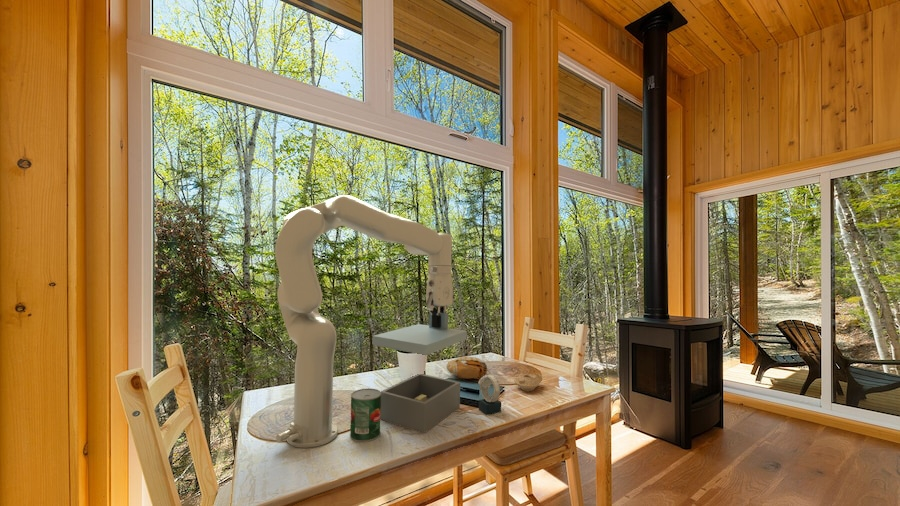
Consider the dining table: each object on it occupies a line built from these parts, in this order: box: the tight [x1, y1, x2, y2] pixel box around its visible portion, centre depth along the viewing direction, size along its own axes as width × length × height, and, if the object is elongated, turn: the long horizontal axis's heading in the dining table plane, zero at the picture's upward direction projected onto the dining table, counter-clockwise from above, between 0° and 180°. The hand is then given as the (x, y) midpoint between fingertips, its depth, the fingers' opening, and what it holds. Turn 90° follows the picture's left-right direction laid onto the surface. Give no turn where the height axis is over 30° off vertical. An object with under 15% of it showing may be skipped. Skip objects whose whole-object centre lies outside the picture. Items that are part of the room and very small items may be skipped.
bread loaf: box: [446, 356, 492, 381], centre depth 143 cm, size 8×22×15 cm
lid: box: [372, 311, 468, 356], centre depth 112 cm, size 23×19×8 cm
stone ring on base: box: [477, 374, 502, 416], centre depth 114 cm, size 6×8×11 cm
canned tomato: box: [349, 387, 381, 443], centre depth 98 cm, size 8×8×11 cm
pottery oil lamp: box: [513, 373, 543, 392], centre depth 134 cm, size 9×12×7 cm
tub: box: [380, 374, 461, 434], centre depth 112 cm, size 20×16×8 cm
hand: (438, 326), depth 120 cm, fingers closed on lid
